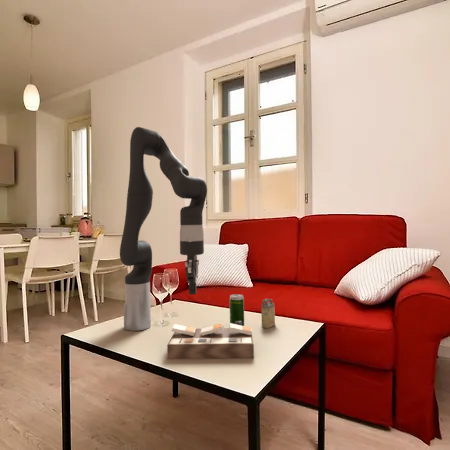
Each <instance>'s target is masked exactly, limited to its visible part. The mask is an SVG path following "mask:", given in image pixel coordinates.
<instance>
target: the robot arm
mask: <svg viewBox="0 0 450 450" xmlns="http://www.w3.org/2000/svg"><path fill="white" fill-rule="evenodd" d="M129 141H130V142H129V143H130V144H129V176H128V185H127V186H128V187H127V194H126V207H125V208H126V209H125V216H124V218H125V219H124V225H123V231H122V236H121V241H120V247H119V259H120V262H121V263H122V264H123V265H124V266H127V267H132V266H133V268H132V270H131V271H130V272H129V273H127V274H126V275H125V277H124V292H125V293H124V295H125V301H124V303H123V330H127V331H131V332H133V331H134V332H137V331H144V330H147V329H150V327H151V326H152V324H151V323H152V322H151V321H152V319H151V318H152V317H151V282H150V281H151V280H150V279H151V276H152V272H153V265H152V264H153V250H152V246H151V245H150V243H149V242H148V241H146V240H139V235H140V231H141V228H142V226H143V225H144V222H145V221H146V219H147V217H148V216H149V214H150V212H151V211H152V210H151V209H152V205H153V198H154V197H153V195H154V190H153V186H152V184H151V180H150V178H149V176H148V175H147V172H146V169H145V164H144V163H145V159H144V157H145V156H152V157H155V158H157V159H158V160H159V168H160V170H161V172H162V173H163V175H164V176H165V178H167V179H168V180H169V182H170V186H171V187H172V190H173V192H174V194H175V196H177V197H179V198H181V199H184V200H185V199H186V200H187V199H188V200H189V199H190V202H189V204H188V205H187V206H186V205H185V206H183V207H182V208H181V209H180V211H179V212H180V214H179V220H180V221H179V223H180V224H179V226H180V229H179V254H180V255H182V256H186V260H185V261H184V265H185V266H184V267H185V268H184V271H185V277H186V282H187V283H188V294H189V295H190V296H191V295H197V281H198V279H199V278H198V277H199V265H200V259H198V256H200V255H203V254H204V252H205V248H204V247H205V244H204V243H205V241H204V226H203V224H204V223H203V210H204V207H205V203H206V199H207V194H208V187H207V186H208V185H207V183H206V181H205V180H204V179H203V178H202V177H196V176H190V171H189V169H188V168H187V167H186V166H185V165H184V164H183V162H181V161H180V159H178V158H177V157H176V156H175V154H174V153H173V151H172V150H171V148H170V147H169V145H168V144H167V142H166V140H165V138H164V137H163V136H162V134H160V132H158V131H155V130H152V129H149V128H145V127H140V126H137V127H135V128H134V129H132V133H131V135H130V140H129ZM144 155H145V156H144Z"/></svg>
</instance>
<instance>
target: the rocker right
mask: <svg viewBox="0 0 450 450" xmlns="http://www.w3.org/2000/svg"><path fill="white" fill-rule="evenodd" d="M228 328H229V330H230V331H234V332H239V333H244V334H248V335H252V336H253V329H252V327H250V326H246V325H244V326H241V325H236V324H232V323H230V322H229V327H228Z"/></svg>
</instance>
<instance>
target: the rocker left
mask: <svg viewBox="0 0 450 450" xmlns="http://www.w3.org/2000/svg"><path fill="white" fill-rule="evenodd" d="M196 329H197V328H196V327H191V326H185V325H181V324H177V323H174V324H173V326H172V328H171V332H173V333H174V332H178V333H183V334H187V335H192V336H194V333H195V330H196Z"/></svg>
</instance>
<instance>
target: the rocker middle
mask: <svg viewBox="0 0 450 450" xmlns="http://www.w3.org/2000/svg"><path fill="white" fill-rule="evenodd" d="M223 328H224V323H223V322H221V323H217V324H213V325H211V326H206V327H201V328H200V329H201V336H203V335H207V334H211V333H215V332H219V331H223Z"/></svg>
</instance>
